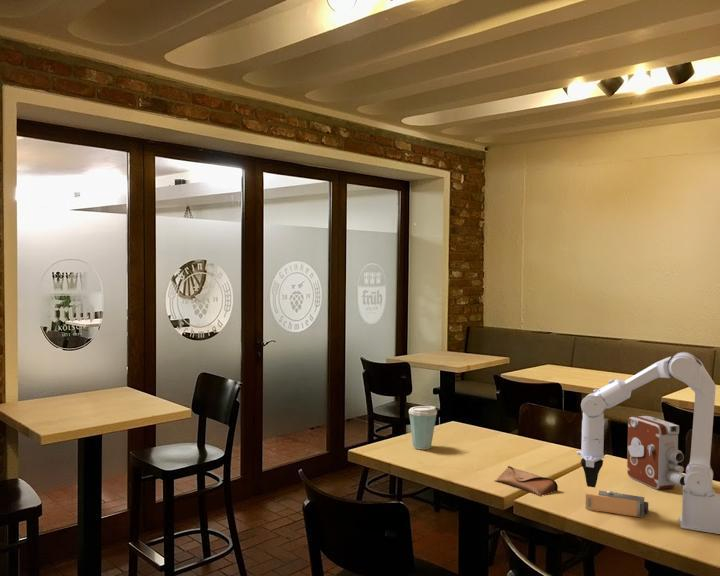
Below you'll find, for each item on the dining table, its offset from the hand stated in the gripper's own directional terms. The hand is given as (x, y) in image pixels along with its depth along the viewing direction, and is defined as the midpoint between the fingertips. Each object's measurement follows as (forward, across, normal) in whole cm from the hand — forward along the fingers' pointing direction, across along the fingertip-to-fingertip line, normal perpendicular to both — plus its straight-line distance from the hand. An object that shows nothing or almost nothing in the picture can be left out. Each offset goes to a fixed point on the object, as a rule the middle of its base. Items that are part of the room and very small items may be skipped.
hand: (591, 486), depth 172 cm
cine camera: (+6, -28, +17) cm, 33 cm away
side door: (+5, +3, +6) cm, 8 cm away
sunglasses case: (+6, -9, -20) cm, 22 cm away
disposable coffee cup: (+6, -34, -61) cm, 70 cm away
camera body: (+5, 0, +8) cm, 9 cm away
